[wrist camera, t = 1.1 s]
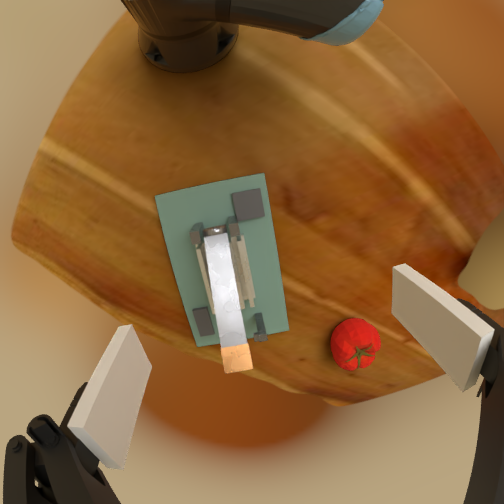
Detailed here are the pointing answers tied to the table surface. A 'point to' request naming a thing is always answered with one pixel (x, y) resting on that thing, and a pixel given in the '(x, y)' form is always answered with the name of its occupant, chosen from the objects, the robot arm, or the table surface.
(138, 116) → the table surface
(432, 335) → the robot arm
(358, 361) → the tomato
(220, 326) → the silver flat strip
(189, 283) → the board
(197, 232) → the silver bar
